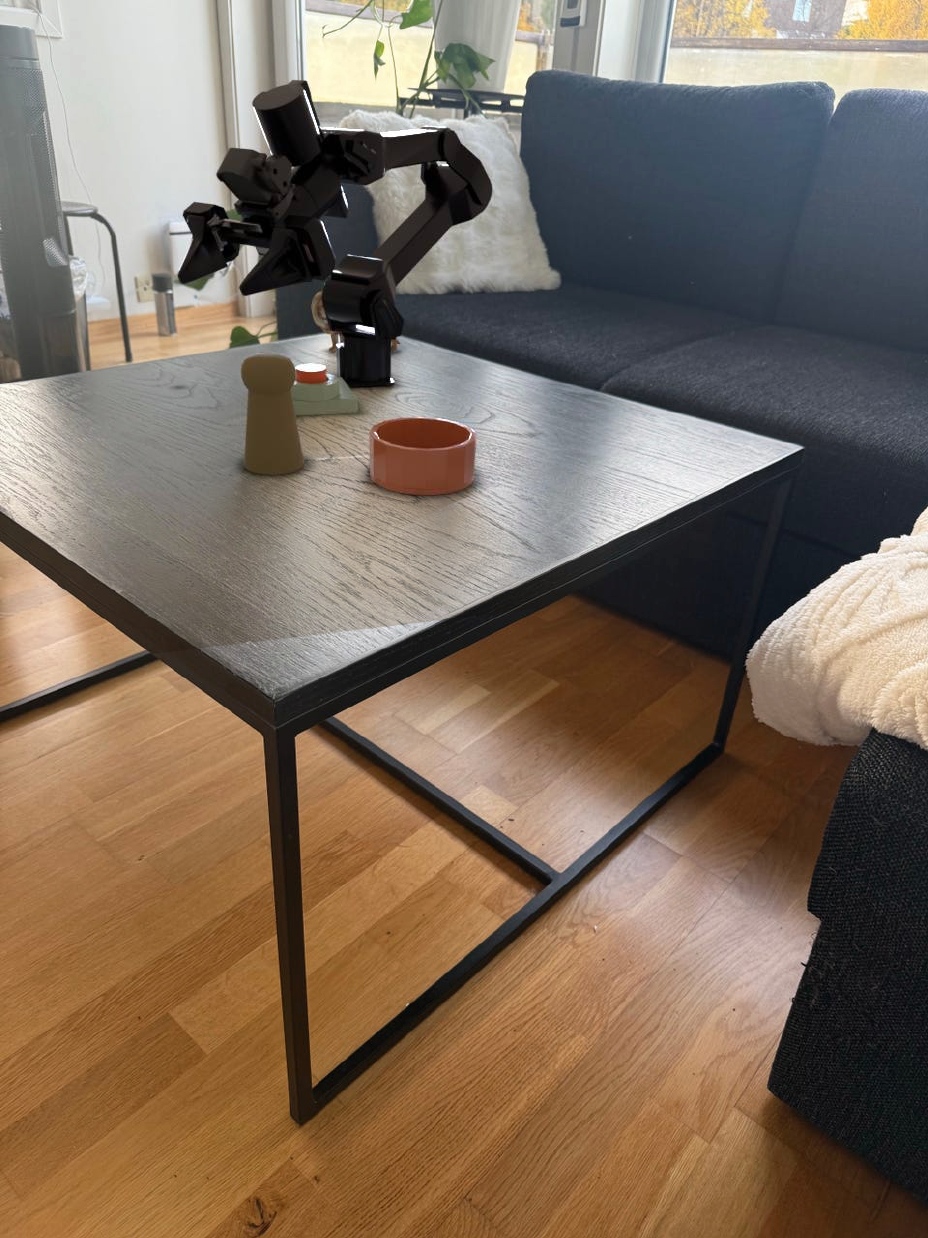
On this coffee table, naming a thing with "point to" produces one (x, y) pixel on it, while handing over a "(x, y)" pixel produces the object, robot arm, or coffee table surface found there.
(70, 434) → the coffee table surface
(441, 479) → the bowl
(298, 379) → the button
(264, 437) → the cork
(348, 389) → the button box
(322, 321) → the lion figurine
